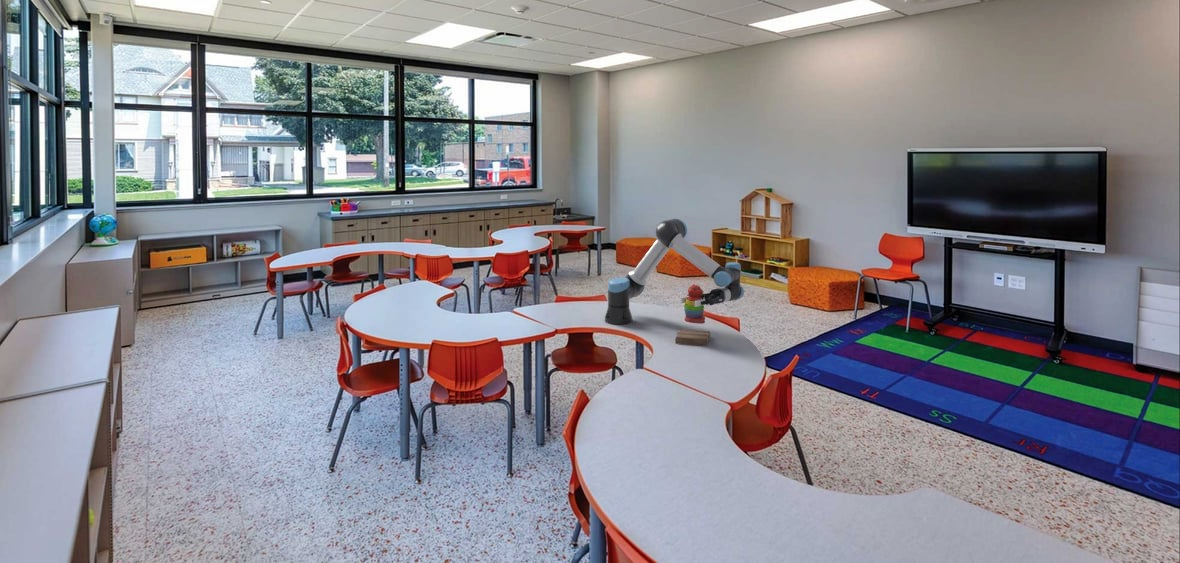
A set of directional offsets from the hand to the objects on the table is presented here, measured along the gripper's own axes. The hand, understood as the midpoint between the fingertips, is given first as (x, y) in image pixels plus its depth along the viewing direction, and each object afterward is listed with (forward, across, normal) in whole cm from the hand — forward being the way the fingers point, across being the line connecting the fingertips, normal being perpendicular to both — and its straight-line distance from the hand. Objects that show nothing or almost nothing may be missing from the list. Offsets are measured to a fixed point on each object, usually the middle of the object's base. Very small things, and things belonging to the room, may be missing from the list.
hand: (688, 302), depth 294 cm
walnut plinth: (-5, 0, -20) cm, 21 cm away
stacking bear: (-5, 0, -10) cm, 11 cm away
